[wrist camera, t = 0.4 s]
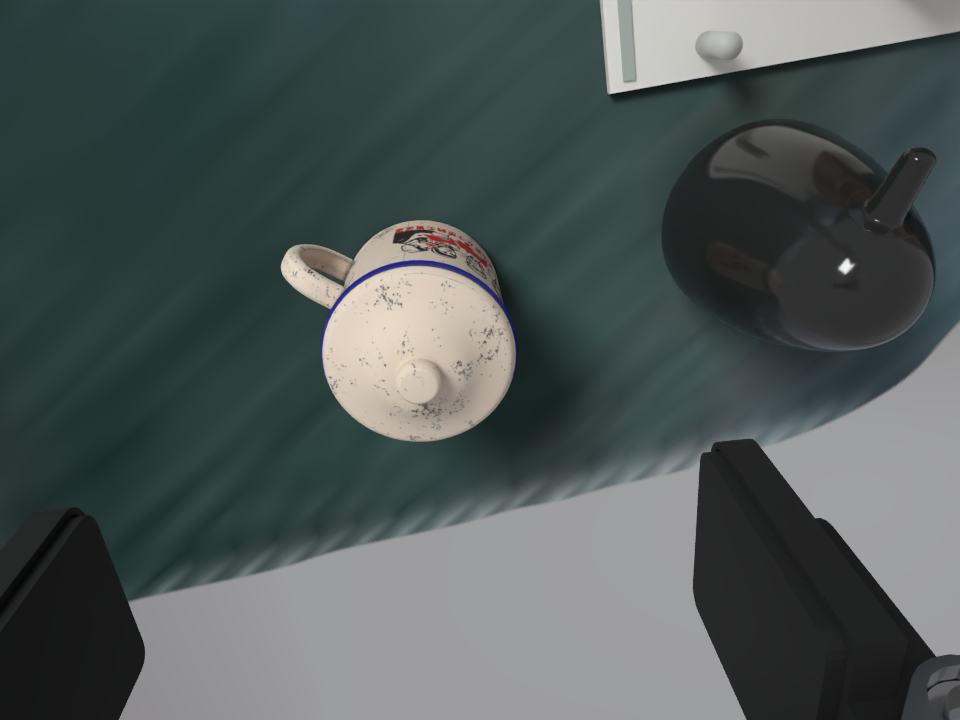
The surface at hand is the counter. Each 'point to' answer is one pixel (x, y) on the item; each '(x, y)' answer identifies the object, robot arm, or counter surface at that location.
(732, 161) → the dark grey egg-shaped piece
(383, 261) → the teacup with lid
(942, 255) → the counter surface
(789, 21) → the wall board
